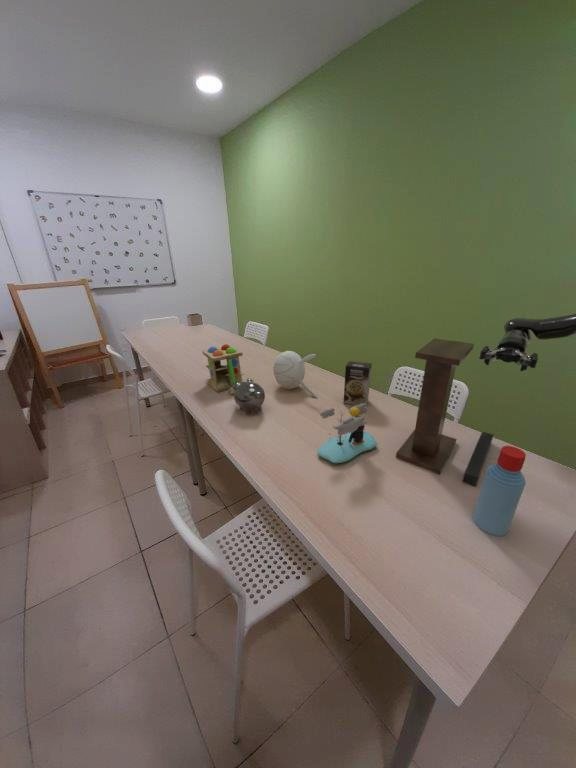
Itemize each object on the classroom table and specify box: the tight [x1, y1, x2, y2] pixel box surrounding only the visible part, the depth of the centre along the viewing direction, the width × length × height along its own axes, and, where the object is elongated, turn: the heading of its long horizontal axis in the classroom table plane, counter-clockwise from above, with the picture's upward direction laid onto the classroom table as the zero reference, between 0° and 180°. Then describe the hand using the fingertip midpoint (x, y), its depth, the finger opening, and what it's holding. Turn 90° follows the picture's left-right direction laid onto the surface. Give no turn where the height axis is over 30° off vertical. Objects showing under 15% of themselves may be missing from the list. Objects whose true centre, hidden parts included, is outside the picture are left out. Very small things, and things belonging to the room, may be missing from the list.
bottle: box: [472, 462, 526, 537], centre depth 62 cm, size 7×7×18 cm
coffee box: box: [343, 360, 373, 406], centre depth 117 cm, size 9×6×16 cm
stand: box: [395, 338, 475, 475], centre depth 84 cm, size 12×18×32 cm, turn 140°
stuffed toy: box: [273, 350, 318, 399], centre depth 130 cm, size 19×14×25 cm
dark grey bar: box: [461, 431, 494, 487], centre depth 85 cm, size 3×24×3 cm, turn 140°
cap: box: [496, 445, 527, 472], centre depth 59 cm, size 4×4×3 cm
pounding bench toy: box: [202, 344, 247, 396], centre depth 135 cm, size 23×14×18 cm, turn 32°
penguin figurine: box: [317, 403, 378, 464], centre depth 89 cm, size 20×11×15 cm, turn 119°
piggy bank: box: [233, 377, 266, 416], centre depth 115 cm, size 11×15×12 cm
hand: (504, 365), depth 88 cm, fingers open, 8 cm apart
